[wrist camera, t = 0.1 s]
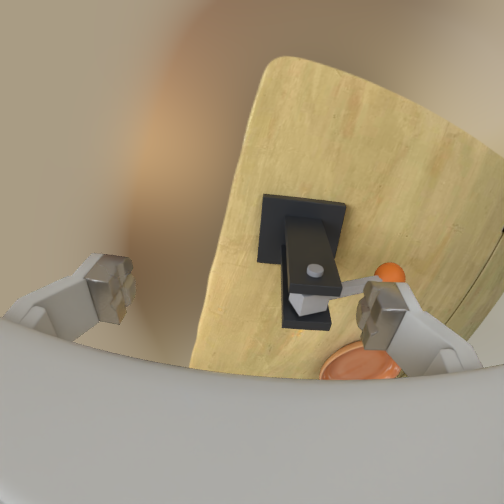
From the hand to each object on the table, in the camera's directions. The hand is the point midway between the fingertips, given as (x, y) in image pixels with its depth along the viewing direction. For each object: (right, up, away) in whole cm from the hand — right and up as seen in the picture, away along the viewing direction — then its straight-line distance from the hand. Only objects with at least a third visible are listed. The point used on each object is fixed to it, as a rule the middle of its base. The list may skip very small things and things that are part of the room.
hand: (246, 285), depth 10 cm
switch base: (+6, +4, +27) cm, 28 cm away
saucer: (+20, -19, +40) cm, 49 cm away
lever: (+10, -1, +19) cm, 22 cm away
